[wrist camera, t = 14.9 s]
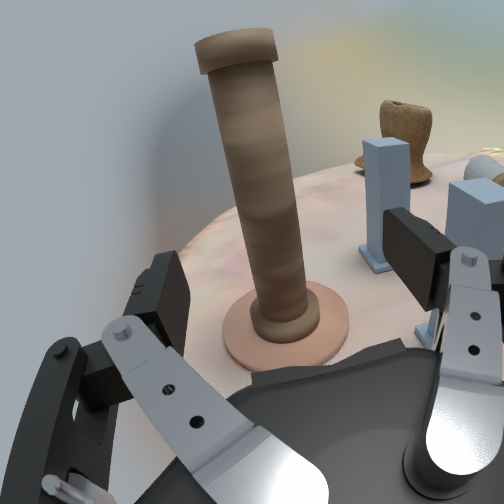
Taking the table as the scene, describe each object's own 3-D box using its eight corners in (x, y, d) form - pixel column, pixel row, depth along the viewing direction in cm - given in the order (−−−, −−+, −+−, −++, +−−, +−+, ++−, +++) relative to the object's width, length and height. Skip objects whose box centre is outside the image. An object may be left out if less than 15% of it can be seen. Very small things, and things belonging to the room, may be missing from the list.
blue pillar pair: (487, 352, 18) (534, 200, 12) (441, 374, 18) (484, 211, 12) (395, 242, 35) (394, 135, 28) (358, 250, 35) (352, 139, 29)
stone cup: (445, 180, 49) (444, 102, 42) (405, 193, 47) (401, 104, 40) (394, 162, 62) (388, 96, 55) (353, 172, 60) (345, 100, 52)
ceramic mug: (484, 220, 35) (490, 169, 31) (461, 198, 42) (463, 153, 38) (531, 217, 33) (538, 170, 29) (505, 196, 40) (510, 155, 36)
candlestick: (333, 311, 26) (299, 28, 15) (290, 354, 23) (228, 24, 12) (282, 290, 30) (236, 45, 19) (239, 325, 27) (168, 53, 16)
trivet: (370, 311, 26) (371, 303, 26) (293, 399, 20) (292, 392, 20) (280, 276, 34) (278, 268, 33) (201, 336, 28) (198, 328, 27)
